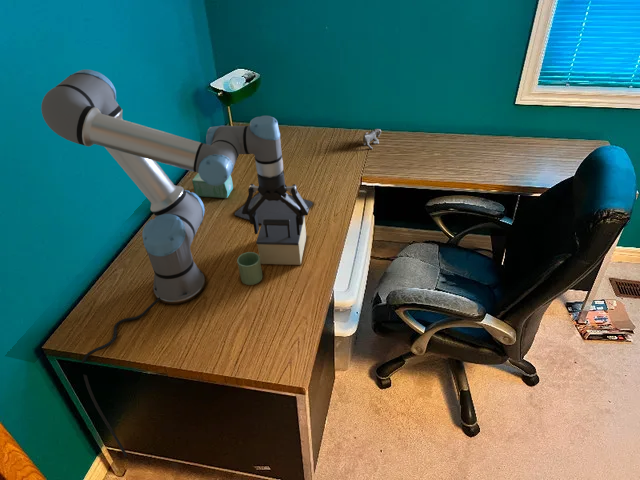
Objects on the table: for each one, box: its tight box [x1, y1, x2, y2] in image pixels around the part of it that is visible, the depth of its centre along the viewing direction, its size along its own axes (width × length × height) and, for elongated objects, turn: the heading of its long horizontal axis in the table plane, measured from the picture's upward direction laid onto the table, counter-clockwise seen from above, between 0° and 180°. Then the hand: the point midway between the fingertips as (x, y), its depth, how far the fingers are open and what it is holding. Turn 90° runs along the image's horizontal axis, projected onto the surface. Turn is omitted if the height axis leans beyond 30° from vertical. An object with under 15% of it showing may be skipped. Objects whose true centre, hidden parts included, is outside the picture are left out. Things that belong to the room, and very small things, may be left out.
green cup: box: [236, 251, 264, 286], centre depth 148 cm, size 7×7×8 cm
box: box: [191, 172, 234, 199], centre depth 189 cm, size 7×14×8 cm, turn 80°
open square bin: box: [256, 215, 307, 266], centre depth 158 cm, size 15×13×9 cm
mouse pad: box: [234, 192, 313, 225], centre depth 180 cm, size 23×20×1 cm
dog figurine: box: [362, 128, 382, 150], centre depth 215 cm, size 12×6×7 cm, turn 138°
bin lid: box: [255, 213, 305, 245], centre depth 153 cm, size 16×13×7 cm
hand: (278, 232), depth 149 cm, fingers open, 12 cm apart
